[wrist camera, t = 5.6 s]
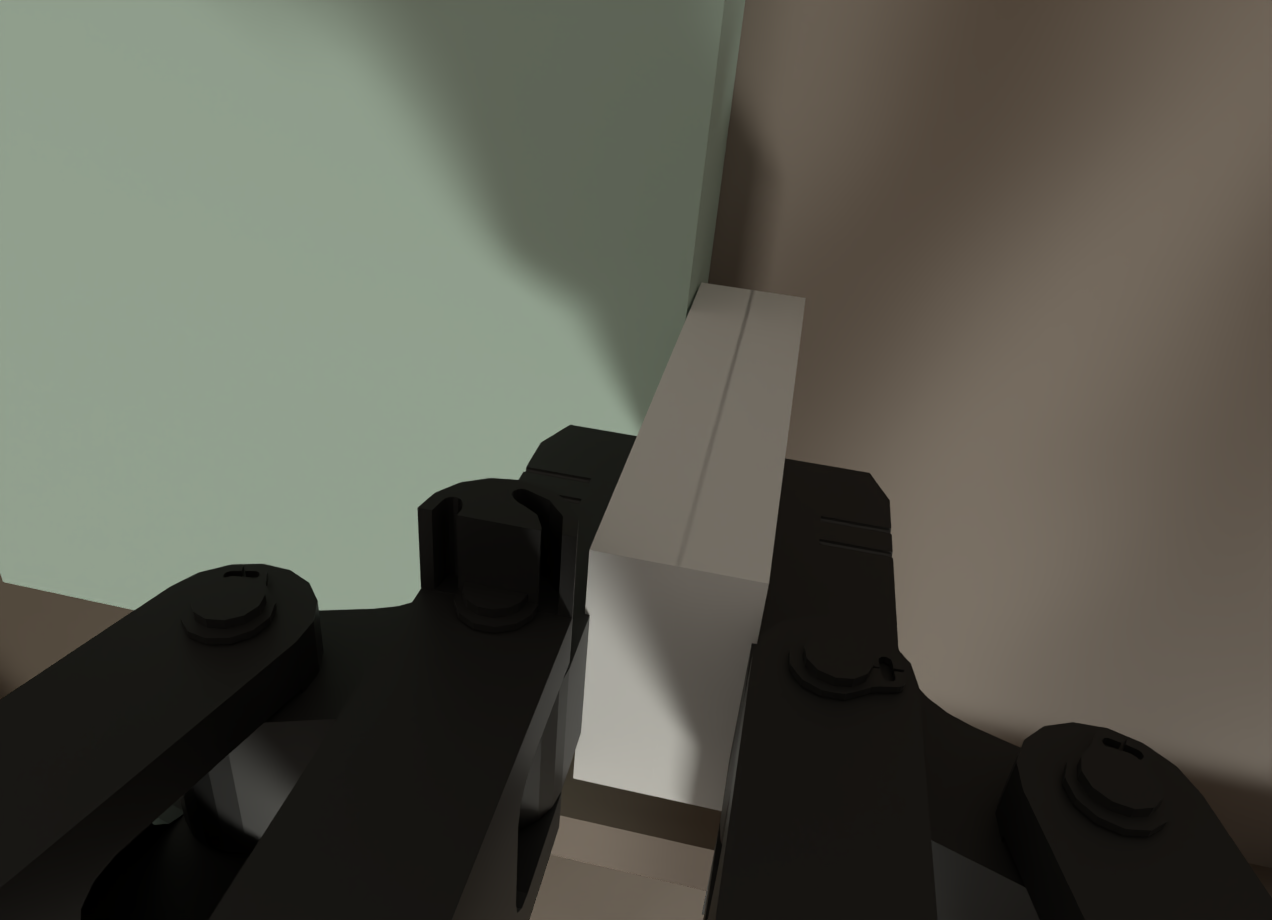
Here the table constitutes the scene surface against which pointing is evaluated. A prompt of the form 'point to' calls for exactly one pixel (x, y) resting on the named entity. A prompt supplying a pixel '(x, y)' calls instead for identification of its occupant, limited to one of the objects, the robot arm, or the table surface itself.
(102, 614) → the table surface
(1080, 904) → the robot arm
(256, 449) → the cover plate
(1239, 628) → the slide box
